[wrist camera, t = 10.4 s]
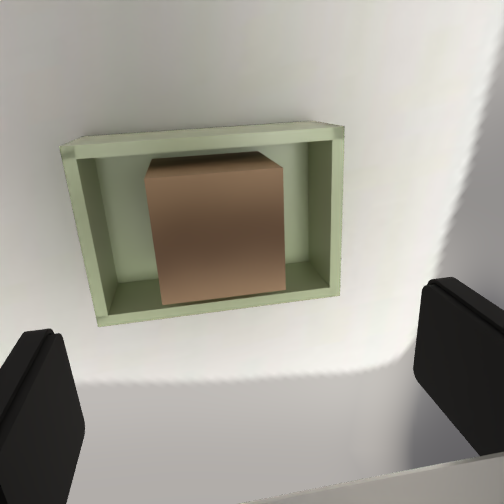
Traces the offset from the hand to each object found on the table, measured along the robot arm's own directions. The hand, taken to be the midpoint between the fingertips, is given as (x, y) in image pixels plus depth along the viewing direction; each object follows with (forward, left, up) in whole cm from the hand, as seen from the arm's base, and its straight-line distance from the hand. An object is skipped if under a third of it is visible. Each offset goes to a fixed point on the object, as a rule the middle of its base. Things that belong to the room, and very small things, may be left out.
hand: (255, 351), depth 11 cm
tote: (0, 0, -16) cm, 16 cm away
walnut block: (0, 0, -15) cm, 15 cm away
